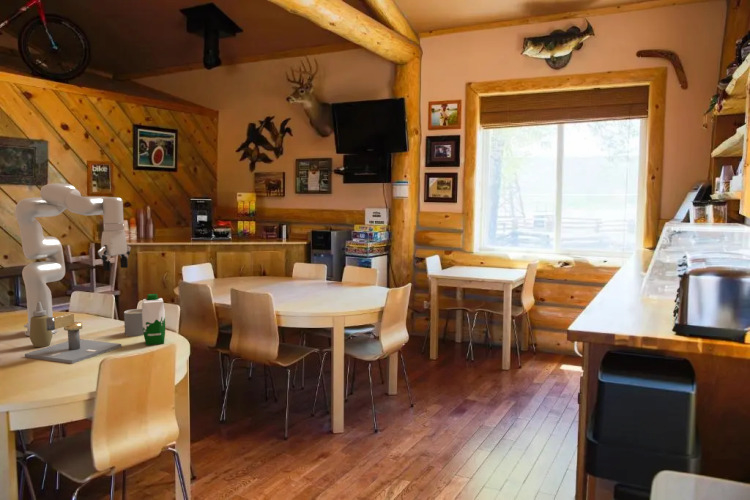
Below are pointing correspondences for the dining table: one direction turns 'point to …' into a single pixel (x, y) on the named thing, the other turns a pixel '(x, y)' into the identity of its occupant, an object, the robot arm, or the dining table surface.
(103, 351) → the post base
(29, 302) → the robot arm
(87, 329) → the dining table surface
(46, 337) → the squeeze bottle
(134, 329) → the coffee mug
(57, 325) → the tan piece
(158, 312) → the milk carton
